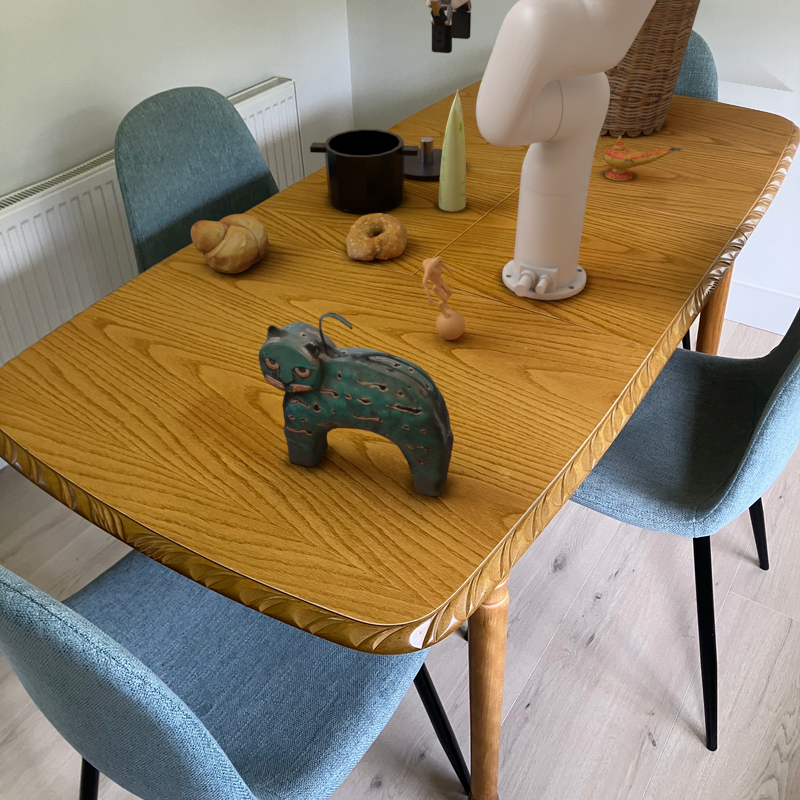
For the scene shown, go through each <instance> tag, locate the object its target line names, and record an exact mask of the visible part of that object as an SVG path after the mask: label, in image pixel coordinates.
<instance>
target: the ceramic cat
mask: <svg viewBox="0 0 800 800" xmlns="http://www.w3.org/2000/svg"><path fill="white" fill-rule="evenodd" d="M326 318H333V319H335V320H337V321H339V322H340V323H342V324H343V325H345V326H346V327H348V328H349V329H350V330H353V328H354V327H353V326H352V323H351V322H349V320H348V319H346V318H345V317H344V316H342V315H340V314H338V313H336V312H332V311H330V312H326V313H323V314H322V315H321V316H320V317H319V320H318V327H316V326H315V325H313V324H310V323H307V322H305V321H304V322H303V321H296V322H295V321H294V322H289V323H287V324H285V325H283V326H282V327H278V326H277V325H274V324H271V325H269V326H268V327H267V329H266V330H267V332H266V340H265V342H264V343H263V344H262V345H261V347H260V349H259V351H258V355H257V357H258V363H259V367H260V370H261V373H262V376H263V378H264V380H265V381H266V382H267V383H268V384H269V385H270V386H272V387H274V388H276V389H277V390H279V391H281V392H284V395H283V399H282V404H281V405H282V406H281V407H282V413H283V419H284V425H283V434H284V437H285V440H286V444H287V451H288V458H289V459H288V460H289V463H290V464H293V465H294V464H295V465H298V466H302V467H306V468H313V467H315V466H317V465H318V464H319V463H320V462H321V460H322V459H323V457H324V455H325V453H326V452H327V451H328V450H329V441H328V433H330V432H331V431H332V430H337V429H349V430H359V431H360V430H361V431H365V432H371V433H374V434H376V435H378V436H380V437H383V438H384V439H386V440H388V441H390V442H392V443H393V444H394V445H396V447H397V448H398V449H399V450H400V452H401V454H402V456H403V457H404V459H405V460H406V464H407V465H408V468H409V472H410V473H411V477H412V481H413V486H414V490H415V492H416V493H419V494H420V495H423V496H428V497H439V496H440V494H441V493H442V490H443V488H444V485H445V484H446V482H447V481H448V475H449V468H450V463H451V459H452V454H453V448H454V441H455V440H454V434H453V431H452V428H451V419H450V418H451V417H450V414H449V413H450V412H449V410H448V407H447V403H446V401H445V398H444V396H443V394H442V391H440V389H439V388H438V386H437V384H436V383H435V381H434V379H433V378H432V377H431V376H430V375H429V373H428V372H427V371H426V370H425V369H423V367H421V365H418V364H416V363H414V362H412V361H411V360H408V359H406V358H403V357H401V356H398V355H394V354H391V353H387V352H383V351H380V350H377V349H372V348H366V347H341V346H339V345H337V344H335V343H334V342H333V340H332V339H331V338H330V337H329V336H328V335H327V334H325V333H324V332H323V329H322V322H323V320H324V319H326Z"/></svg>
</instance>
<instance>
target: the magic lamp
mask: <svg viewBox="0 0 800 800" xmlns="http://www.w3.org/2000/svg"><path fill="white" fill-rule="evenodd" d="M598 140H599V142H600V143H601V144H602V145H603V146H604V147H608V148H606V149H605V150H603V149H602V148H600V147H599V146H598V145H596V148H595V149H597V150H598V151H600V152H601V153H602V157H601V158H600V159H599V158H597V156H598V154H596V155H595V159H596V161H602V160H603V161H604V162H605V163H606V164H607V165H608V166H610V167H612V168H613V169H610V170H608V171H606V172H605V174H604V175H605V177H606V178H608V179H609V180H613V181H628V180H631V179H632V178H633V174H632V173H631V172H629V171H628V169H631V168H635V167H640V166H643V165H647V164H650V163H653V162H656V161H657V160H660V159H661V158H663V157H665V156H667V155H669V154H671V153H673V152H677V151H678V152H679V151H683V149H682V148H681V147H679V146H678V147H667V148H663V149H659V150H655V151H641V150H638V149H635V148H630V147H627V145H626V143H625V142H624V141H623V136H619V137H617V140H615V141H614V142H611V143H605V142H604V141H603V140H602V136H600V135H599V138H598ZM611 146H612V147H611Z"/></svg>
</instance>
